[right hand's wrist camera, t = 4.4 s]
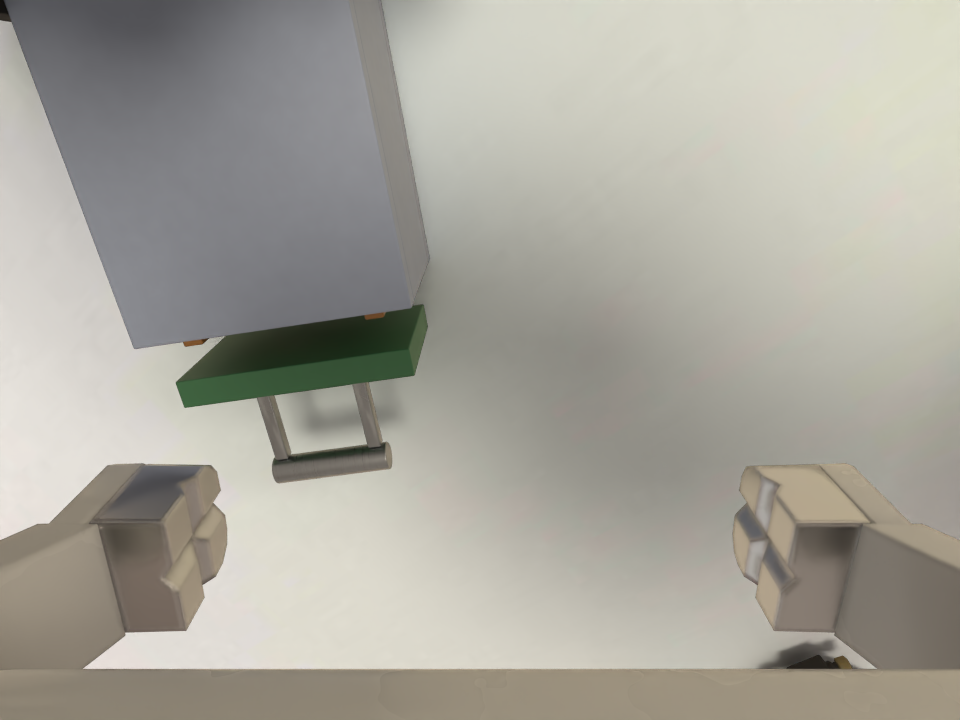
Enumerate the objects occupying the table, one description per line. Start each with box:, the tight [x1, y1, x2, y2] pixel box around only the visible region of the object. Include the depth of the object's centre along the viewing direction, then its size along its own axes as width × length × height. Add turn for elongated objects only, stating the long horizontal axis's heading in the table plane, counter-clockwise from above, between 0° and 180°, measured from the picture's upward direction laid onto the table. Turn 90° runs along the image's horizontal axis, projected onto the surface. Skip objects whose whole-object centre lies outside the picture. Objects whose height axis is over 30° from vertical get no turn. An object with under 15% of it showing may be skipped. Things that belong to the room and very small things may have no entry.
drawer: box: [176, 305, 428, 483], centre depth 28 cm, size 21×10×6 cm, turn 9°
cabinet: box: [4, 0, 430, 349], centre depth 26 cm, size 17×11×8 cm, turn 9°
